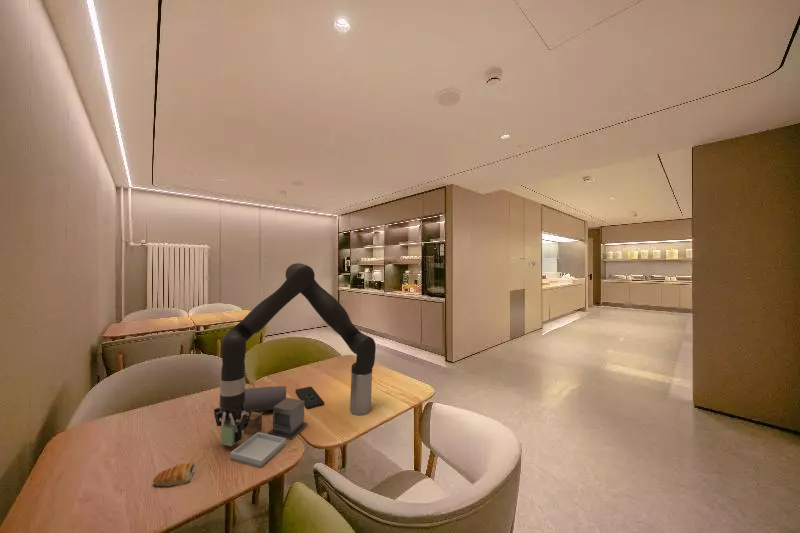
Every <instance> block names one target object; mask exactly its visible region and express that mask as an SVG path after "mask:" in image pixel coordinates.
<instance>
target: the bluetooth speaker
mask: <svg viewBox="0 0 800 533" xmlns="http://www.w3.org/2000/svg"><path fill="white" fill-rule="evenodd" d="M286 398H287V386H283V385H282V386H281V385H279V386H278V385H277V386H261V387H260V386H259V387H251V388H250V387H249V388H245V402H244V404H243V408H244V411H245V412H247V413H248V412H257V413H261V412H264V413H268V412H267V411H269V412H270V411H271V410H273V407H274V406H276V405H277V404H279V403H280V402H281V401H283V400H284V399H286Z"/></svg>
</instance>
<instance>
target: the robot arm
mask: <svg viewBox="0 0 800 533" xmlns="http://www.w3.org/2000/svg"><path fill="white" fill-rule="evenodd" d="M315 276H316V275H315V271H314V269H313V268H312V267H311V266H309V265H307V264H304V263H300V262H299V263H298V262H297V263H292V264H289V266H288V267H287V268H286V270H285V278H286V280H285V281H284V282H283V283H282V284H281V286H279V288H278V289H276V290H275V291H274V292H273V293H272V294H270V295H269V296H268V297H266V298H265V299H264V300H262V301H261V302H259V303H258V304H257V305H256V306H255V307H254V308H253V309H252V310H251V311H250V312H249V313H248V314H247V315H246V316H245V317H244V318H243V319H242V320H241V321H239V322H238V323H237V324H236V325H234V327H232V328H231V329H229V331H228V332H227V333H226V334H224V336H223V338H222V341H221V358H222V359H221V360H222V362H221V363H222V365H221V373H220V374H221V376H220V378H221V379H220V385H219V386H220V387H219V406H218V407H216V408H214V409H213V414H214V419H215V423H216V426H217V427H220V428H221V426H223V425H225V424H226V423H227V422H230V421H231V423H232V426H234V430H235V433H234V442H235V444H237V443H238V442H240V441H241V440H242V439H243V430H244V429H245V428H247V426H248V423H249V419H250V416H251V412H248V413H247V412H245V411H244V408H243V404H244V402H245V389H246V373H245V372H246V362H245V360H246V351H247V341H249V339H251V338H252V337H253V335H255V334H257V333H259V332H260V331H262V330H263V328H265V326H267V324H269V323H270V321H271V320H272V319H273V318H274V317H275V316H276V315H277V314H278V313H279V312H280V311H281V310H282V309H284V307H285V306H287V304H288V303H290V302H291V301H292V300H293V299H295V298H296V297H297V296H298V295H299V294H301V295H302V296H303V297H304V298H305V299H306V300H307V302H308V303H309V304H310V305H311V307H312V308H313V310H315V311H316V313H317V314H318V316H320V317H321V319H322V320H323V321H324V322H325V323H326V324H327V325H328V326H329V328H331V329H332V330H333V331H334V332H335V333H336V334H338V336H340V337H341V338H342V340H343V341H344V342H345V344H346V346H347V347H348V348H349V350H350V351H351V352H352V353H354V354H355V355H356V358H355V362H354V363H353V364H352V365H351V370H350V372H351V374H350V396H349V397H350V398H349V399H350V400H349V412H350V413H351V414H352V415H357V416H362V415H363V416H364V415H367V414H369V413H370V412H371V410H372V409H371V408H372V390H373V389H372V387H373V386H372V385H373V368H374V366H375V362H376V361H375V360H376V348H377V346H376V341H375V339H374V338H373V337H371V336H370V335H367V334H364V333H363V332H361V331H360V330H359V329H358V328H357V327H356V326H355V325H354V324H353V323H352V321H351V318H350V316H349V314H348V312H347V310H346V309H345V308H344V307H343V306H342V304H341V303H340V301H338V300H337V299H336V298H335V297H334V296H333V295H332V294H331V293H329V292H328V291H327V290H325V289H324V288H323V287H321V285H320V284H319V283H318V281H316V279H315ZM236 420H237V421H236ZM238 424H239V427H238ZM241 438H242V439H241ZM240 439H241V440H240Z"/></svg>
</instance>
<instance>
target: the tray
mask: <svg viewBox="0 0 800 533" xmlns="http://www.w3.org/2000/svg"><path fill="white" fill-rule="evenodd" d="M285 446H287V439H286V438H282V437H278V436H273V435H269V434H268V433H265V432H260V431H258V432H257V433H256V434H254V435H253V436H252V435H251V436H250V437H249V438H248V439H246V440H245V441H244V442H243V443H241V444H240V445H239V446H237V447H236V448H234V449H233V450H232V451H231V452H230V453H229V454H230V455H229V460H230V461H233V462H236V463H241V464H245V465H248V466H252V467H256V468H259V469H262V468H264V466H265V465H267V463H269V462H270V461H271V459H273V458H274V457H275V456H276V455H277V454H278V453H279V452H280V451H282V449H284V448H285Z"/></svg>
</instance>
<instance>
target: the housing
mask: <svg viewBox="0 0 800 533" xmlns="http://www.w3.org/2000/svg"><path fill="white" fill-rule="evenodd" d="M304 404H305V401H302V400H300V399H296V398H290V397H286V399H284V400H283V401H281V402H280V403H279V404H277V405H276V406H274V407H273V409H272V428H271V429H270V430H268V431H267V434H269V435H273V436H278V437H282V438H286V440H291V441H292V440H293V439H294V438H296V437H297V435H299V434H300V433H301V432H302V431H303V430H304V429H305V428H306V427H308V422H305V406H304Z"/></svg>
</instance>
